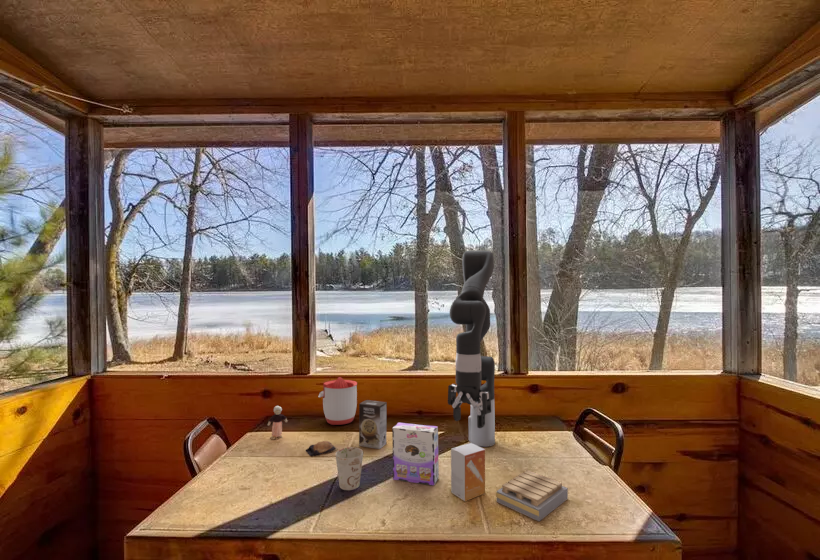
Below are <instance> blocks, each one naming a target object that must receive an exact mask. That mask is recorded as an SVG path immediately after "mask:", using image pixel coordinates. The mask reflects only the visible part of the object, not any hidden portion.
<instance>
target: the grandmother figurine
mask: <svg viewBox="0 0 820 560" xmlns="http://www.w3.org/2000/svg"><path fill="white" fill-rule="evenodd" d="M282 411H283V408H282V407H281V406H279V405H275V406H274V407H273V412H274V414H273V415H271V417H270V419H269V420H268V423H267V426H268V427H269V426H271V423H272V427H271V428H272V429H271V437H270V439H271V440H274V439H275V440H276V439H277V438H278V439H281V438H283V435H282V434H283V421H284V423H288V419H287V416H286V415H284V414H281V413H282ZM282 420H283V421H282Z"/></svg>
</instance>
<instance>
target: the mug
mask: <svg viewBox="0 0 820 560" xmlns="http://www.w3.org/2000/svg"><path fill="white" fill-rule="evenodd" d="M363 457H364V450H363V449H361V448H359V447H353V446H350V447H349V446H348V447H344V448H340V449H338V450H336V452H335V461H336V462H335V463H336V469H337V477H338V486H339V488H340V489H341V490H344V491H352V490H353V491H354V490H356V489H357V488H359V486H360V484H361V483H360V482H361V475H362V467H363V466H362V465H363Z"/></svg>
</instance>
